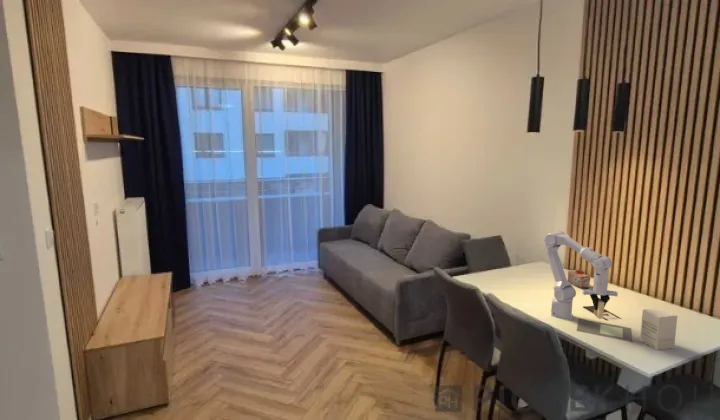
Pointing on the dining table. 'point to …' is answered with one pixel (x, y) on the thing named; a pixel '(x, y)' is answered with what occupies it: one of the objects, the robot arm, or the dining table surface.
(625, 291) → the dining table surface
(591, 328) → the mat
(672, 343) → the supplement box
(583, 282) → the food item
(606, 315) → the chocolate bar
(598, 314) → the tile
